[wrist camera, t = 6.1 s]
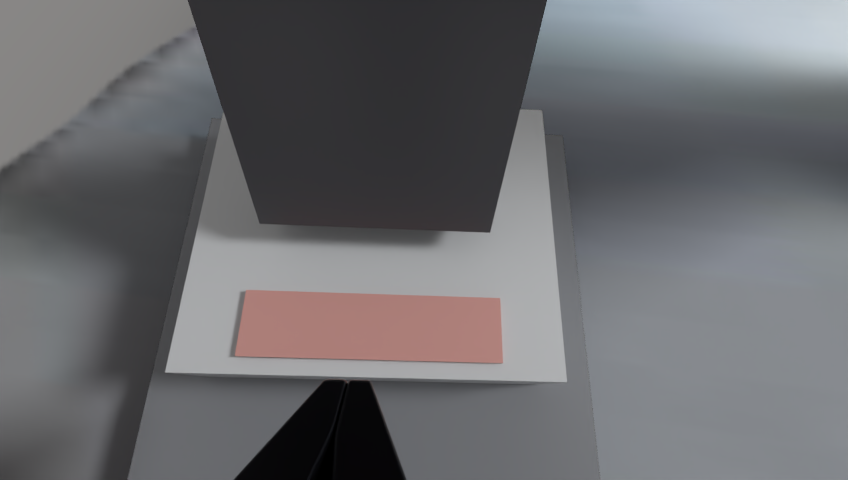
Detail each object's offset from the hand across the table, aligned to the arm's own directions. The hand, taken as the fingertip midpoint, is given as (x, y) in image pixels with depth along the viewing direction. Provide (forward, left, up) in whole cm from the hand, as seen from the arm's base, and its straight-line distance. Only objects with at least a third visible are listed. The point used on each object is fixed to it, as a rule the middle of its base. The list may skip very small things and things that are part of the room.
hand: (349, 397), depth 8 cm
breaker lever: (+3, +5, -5) cm, 7 cm away
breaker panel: (+1, +2, -10) cm, 10 cm away
